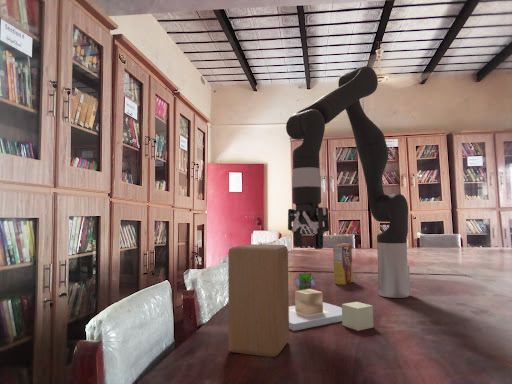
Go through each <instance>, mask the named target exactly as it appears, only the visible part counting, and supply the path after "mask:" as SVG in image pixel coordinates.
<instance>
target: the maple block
mask: <svg viewBox="0 0 512 384" xmlns="http://www.w3.org/2000/svg"><path fill="white" fill-rule="evenodd" d="M294 298H295V299H294V303H295V305H294V306H295V311H298V312H301V313H304V314H307V315H309V314H315V313H320V312H323V302H324V301H323V298H324V296H323V291H319V290H317V289H313V288H311V289H306V290H299V289H298V290H295V291H294Z"/></svg>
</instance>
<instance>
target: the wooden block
mask: <svg viewBox="0 0 512 384" xmlns="http://www.w3.org/2000/svg"><path fill="white" fill-rule="evenodd" d="M227 254H228V262H227V263H228V265H227V266H228V267H227V268H228V280H227V281H228V284H227V285H228V293H227V294H228V299H227V300H228V350H229V351H230V352H231V353H238V354H245V355H252V356H253V355H254V356H262V357H269V358H275V357H277V356H279V354H281V351H283V349H284V348H285V346H286V345H287V344H288V342H289V340H290V329H289V306H290V305H289V300H290V299H289V297H290V296H289V248H288V247H287V246H286V245H284V244H257V243H256V244H252V243H251V244H242V245H237V246H233V247H230V248H229V250H228V253H227Z"/></svg>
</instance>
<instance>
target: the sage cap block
mask: <svg viewBox="0 0 512 384" xmlns="http://www.w3.org/2000/svg"><path fill="white" fill-rule="evenodd" d="M341 307H342V321H341V324H342V326H343V327H346V328H348V329H352V330H355V331H358V332H359V331H362V330H367V329H372V328H374V306H373V305H372V304H368V303H363V302H360V301H353V302H346V303H342V304H341Z"/></svg>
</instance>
